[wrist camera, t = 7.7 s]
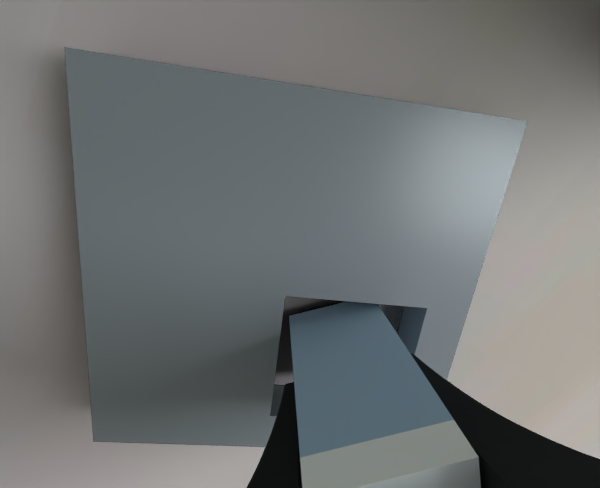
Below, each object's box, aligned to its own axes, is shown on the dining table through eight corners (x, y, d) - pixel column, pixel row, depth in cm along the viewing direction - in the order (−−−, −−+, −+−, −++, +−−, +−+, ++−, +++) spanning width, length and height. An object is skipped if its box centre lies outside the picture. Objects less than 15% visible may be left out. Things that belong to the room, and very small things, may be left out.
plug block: (371, 295, 15) (478, 456, 7) (384, 364, 16) (487, 567, 8) (288, 315, 14) (303, 500, 7) (307, 383, 16) (337, 604, 8)
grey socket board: (492, 125, 13) (527, 121, 11) (408, 419, 18) (423, 452, 16) (99, 64, 12) (64, 47, 10) (114, 406, 16) (93, 441, 14)
